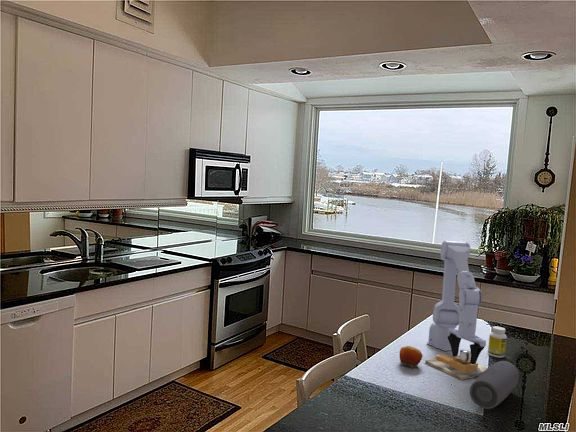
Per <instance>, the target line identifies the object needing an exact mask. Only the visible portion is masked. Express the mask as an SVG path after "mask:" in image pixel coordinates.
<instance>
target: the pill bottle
mask: <svg viewBox="0 0 576 432" xmlns="http://www.w3.org/2000/svg"><path fill="white" fill-rule="evenodd" d="M505 333H506V328H505V327H501V326H496V325H495V326H492V331H491V332H490V333H489V337H488V347H487V354H488V355H489V356H491V357H493V358H498V359H499V358H501V359H502V358H505V356H506V346H507V335H506V334H505Z"/></svg>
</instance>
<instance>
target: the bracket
mask: <svg viewBox="0 0 576 432" xmlns="http://www.w3.org/2000/svg"><path fill="white" fill-rule="evenodd" d="M435 358H436V359H438V360H440V361H442V362H445V363H448V364H449V366H450V367H453V368H455V369H457V370H459V371H461V372H464V373H468V372H471V371H475V370H477V369H478V364H479V363H478V362H476V364H471V363H470V364H467V365H464V364H462V363H459V358H460V357H458V358H454V359H453V358H451V357H448V356H447V355H445V354H444V353H441V354H437V355H435Z"/></svg>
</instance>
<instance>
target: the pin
mask: <svg viewBox="0 0 576 432" xmlns="http://www.w3.org/2000/svg"><path fill="white" fill-rule="evenodd" d="M459 356H460V358H459V363H462V364H464V365H467V364H470V359H471V350H468V349H459Z"/></svg>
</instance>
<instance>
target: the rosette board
mask: <svg viewBox="0 0 576 432" xmlns="http://www.w3.org/2000/svg"><path fill="white" fill-rule="evenodd" d="M446 356H448V357H451V358H453V359H454V358H458V357H460V355H458V356H453V355H452V354H447V355H446ZM424 363H425V364H427V365H428V366H430V367H432V368H436V369H437V370H440V371H442V372H443V373H446V374H448V375H450V376H452V377H454V378H457V379H459V380H461V381H464V380H469V379H471V378H475V377H479V376H480V375H481V374H482V373H483V372H484V371H485V370H486V369H487V368H488V367H487V366H486V367H485V366H484V365H481V364H479V363H478V369H477V370H475V371H471V372H468V373H464V372H461V371H459V370H457V369H455V368H453V367H450V366H449V364H448V363H445V362H442V361H440V360H438V359H436V357H435V358H430V359H426V360H425V362H424Z"/></svg>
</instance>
